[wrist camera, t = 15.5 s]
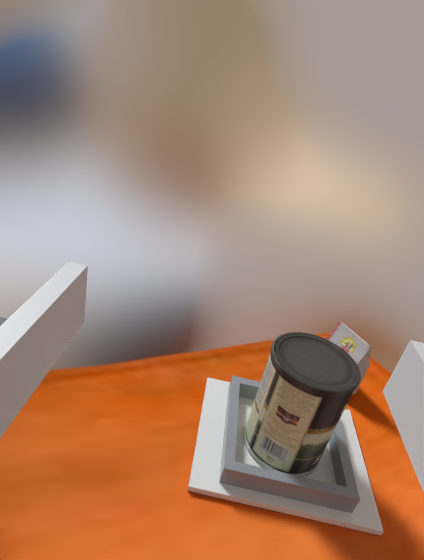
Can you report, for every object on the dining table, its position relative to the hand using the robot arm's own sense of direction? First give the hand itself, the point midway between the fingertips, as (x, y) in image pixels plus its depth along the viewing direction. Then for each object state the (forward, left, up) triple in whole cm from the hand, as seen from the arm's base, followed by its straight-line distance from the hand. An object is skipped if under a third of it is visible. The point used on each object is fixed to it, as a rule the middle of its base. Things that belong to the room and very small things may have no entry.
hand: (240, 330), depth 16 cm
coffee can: (+12, +24, -31) cm, 41 cm away
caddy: (+12, +24, -32) cm, 42 cm away
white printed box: (+22, +40, -32) cm, 56 cm away
